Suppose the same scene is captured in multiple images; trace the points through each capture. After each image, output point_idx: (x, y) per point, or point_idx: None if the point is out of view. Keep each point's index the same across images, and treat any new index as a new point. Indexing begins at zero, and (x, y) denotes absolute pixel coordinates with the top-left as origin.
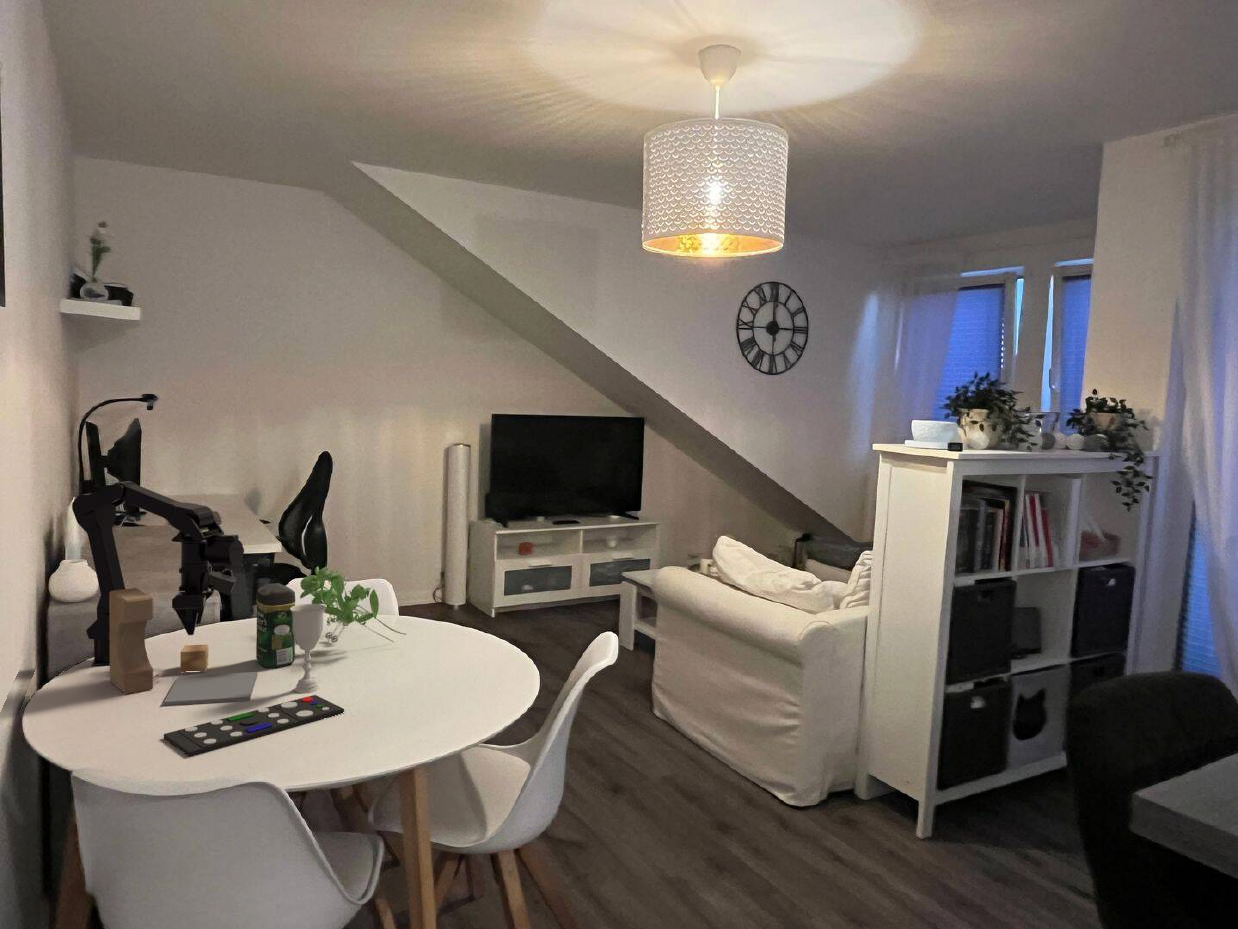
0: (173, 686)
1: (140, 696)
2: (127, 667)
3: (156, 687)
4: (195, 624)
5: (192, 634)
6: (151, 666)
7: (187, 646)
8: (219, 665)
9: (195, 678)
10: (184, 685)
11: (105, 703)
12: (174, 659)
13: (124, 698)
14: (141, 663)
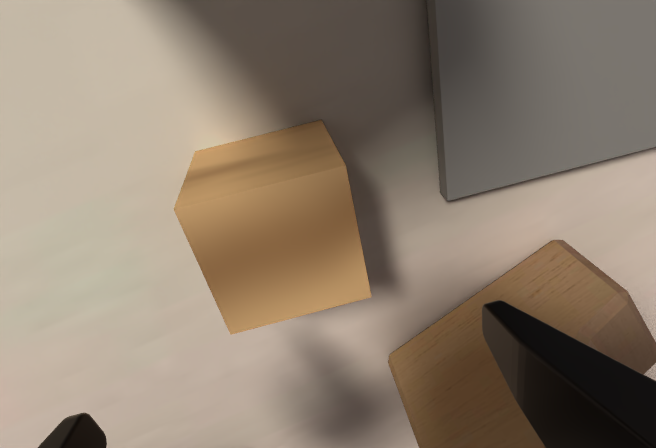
0: (598, 159)
1: (619, 241)
2: None
3: (527, 235)
4: (602, 366)
5: (500, 307)
6: (610, 309)
7: (254, 310)
8: (189, 82)
9: (501, 104)
10: (601, 114)
11: (651, 307)
12: (142, 337)
13: (622, 279)
14: None
